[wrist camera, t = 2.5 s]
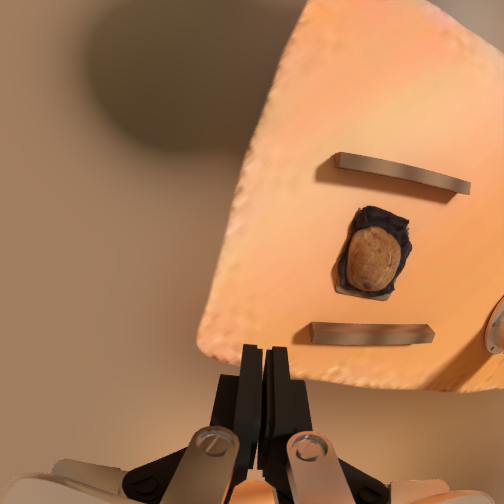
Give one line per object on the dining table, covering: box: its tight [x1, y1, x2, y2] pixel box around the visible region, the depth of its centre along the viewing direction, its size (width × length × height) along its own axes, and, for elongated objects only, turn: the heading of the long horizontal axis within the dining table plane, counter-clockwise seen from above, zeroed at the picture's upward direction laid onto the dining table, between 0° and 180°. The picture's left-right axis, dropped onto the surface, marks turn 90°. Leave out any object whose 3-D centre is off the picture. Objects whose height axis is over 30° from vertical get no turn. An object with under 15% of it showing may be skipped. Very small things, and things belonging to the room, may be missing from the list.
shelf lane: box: [310, 152, 471, 345], centre depth 29 cm, size 17×21×2 cm
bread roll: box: [335, 206, 412, 301], centre depth 29 cm, size 11×8×4 cm
